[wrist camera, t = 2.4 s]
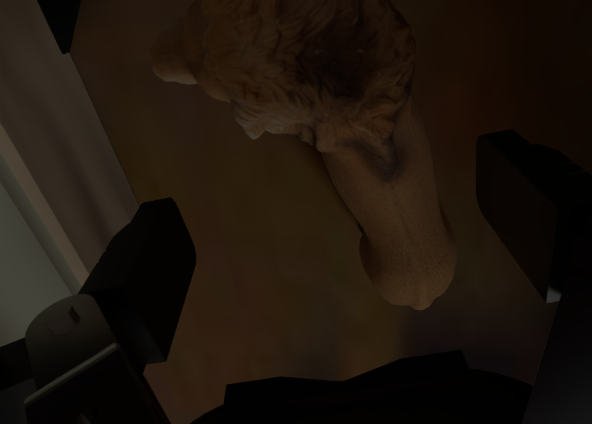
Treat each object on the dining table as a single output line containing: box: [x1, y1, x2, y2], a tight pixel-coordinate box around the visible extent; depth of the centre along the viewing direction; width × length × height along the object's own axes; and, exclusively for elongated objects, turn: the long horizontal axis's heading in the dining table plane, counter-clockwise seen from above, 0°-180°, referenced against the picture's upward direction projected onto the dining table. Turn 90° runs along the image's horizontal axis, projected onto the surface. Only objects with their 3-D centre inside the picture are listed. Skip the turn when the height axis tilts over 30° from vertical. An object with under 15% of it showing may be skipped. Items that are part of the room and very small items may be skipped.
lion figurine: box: [150, 0, 457, 310], centre depth 13 cm, size 15×5×9 cm, turn 34°
